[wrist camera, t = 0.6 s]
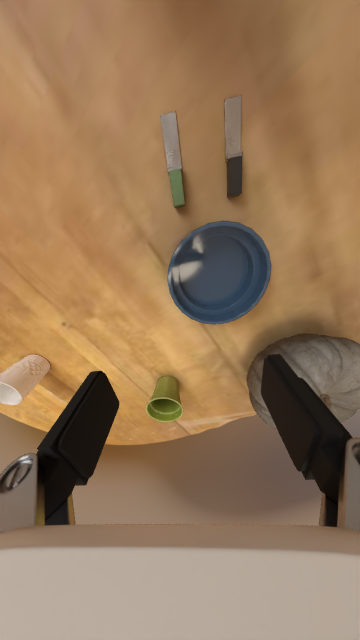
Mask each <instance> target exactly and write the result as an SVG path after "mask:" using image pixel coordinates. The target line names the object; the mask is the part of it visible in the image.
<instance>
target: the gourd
mask: <svg viewBox="0 0 360 640" xmlns="http://www.w3.org/2000/svg"><path fill="white" fill-rule="evenodd" d="M272 354H280V355H281V356H282V357H283V358H284V359H285V361H286V362H287V363H288V364H289V366H290V367H291V368H292V369H293V371H294V372H295V373H296V374H297V376H298V377H299V378H303V379H304V380H305V381H306V382H307V383H308V384H309V386H310V387H311V388H312V389H313V390H314V392H315V393H316V394H317V395H318V396H319V398H320V399H321V400H322V401H323V402H324V404H325V405H326V406H327V407H328V408H329V410H330V411H331V412H332V413H333V414H334V416H335V417H336V418H337V419H338V420H339V422H340V423H341V422H343V421H344V420H347V419H349V418H350V417H352V416H353V415H354V414H355V413H356V411H357V409H360V344H358V343H357V342H355V341H352V340H350V339H347V338H339V337H330V336H325V335H317V334H316V335H315V334H298V335H295V336H292V337H289V338H284V339H281V340H279V341H277V342H275V343H274V344H271V345H270V346H268V347H267V348H266V349H265V350H263V351H262V352H260V353H259V354H258V355H257V356H256V357H255V359H254V361H253V362H252V364H251V366H250V369H249V371H248V375H247V385H248V388H249V395H250V400H251V403H252V406H253V408H254V410H255V411H256V413H257V414H258V415H259V417H260V418H261V419H262V420H263V421H264V422H265V423H267V424H268V425H270V426H271V427H273V428H275V429H277V428H276V426H275V423H274V421H273V419H272V417H271V415H270V413H269V411H268V409H267V407H266V405H265V402H264V400H263V398H262V396H261V382H262V373H263V364H264V358H267V356H268V355H272Z"/></svg>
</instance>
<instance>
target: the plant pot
mask: <svg viewBox="0 0 360 640" xmlns="http://www.w3.org/2000/svg"><path fill="white" fill-rule="evenodd" d="M146 412H147V414H148V415H149V416H150V417H151V418H153V419H154V420H157V421H161V422H171V421H175V420H177V419H179V418H180V417H181V416H182V414H183V407H182V405H181V402H180V396H179V386H178V381H177V380H176V379H175V378H174V377H171V376H166V377H161V378H160V379H159V380H158V382H157V385H156V388H155V390H154V393H153V396H152V398H151V399H150V401H149V402H148V403H147V405H146Z"/></svg>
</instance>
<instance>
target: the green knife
mask: <svg viewBox="0 0 360 640" xmlns="http://www.w3.org/2000/svg"><path fill="white" fill-rule="evenodd" d="M160 117H161V124H162V131H163V138H164V145H165V152H166V160H167V167H168V168H167V169H168V174H170V182H171V189H172V196H173V203H174V207H175V208H177V207H182V206H185V201H184V192H183V183H182V175H181V172H182V165H181V156H180V147H179V138H178V129H177V120H176V111H175V112H171V113H167V114H163V115H160Z"/></svg>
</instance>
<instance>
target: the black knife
mask: <svg viewBox="0 0 360 640" xmlns="http://www.w3.org/2000/svg"><path fill="white" fill-rule="evenodd" d="M225 156H226V163H227V198H230V197H235V196H239V195H240V194H241V193H242V156H243V152H241V95H240V96H236V97H232V98H228V99H225Z"/></svg>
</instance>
